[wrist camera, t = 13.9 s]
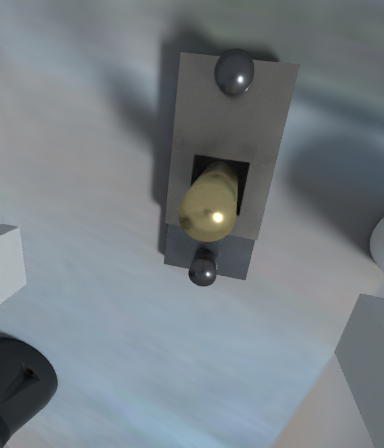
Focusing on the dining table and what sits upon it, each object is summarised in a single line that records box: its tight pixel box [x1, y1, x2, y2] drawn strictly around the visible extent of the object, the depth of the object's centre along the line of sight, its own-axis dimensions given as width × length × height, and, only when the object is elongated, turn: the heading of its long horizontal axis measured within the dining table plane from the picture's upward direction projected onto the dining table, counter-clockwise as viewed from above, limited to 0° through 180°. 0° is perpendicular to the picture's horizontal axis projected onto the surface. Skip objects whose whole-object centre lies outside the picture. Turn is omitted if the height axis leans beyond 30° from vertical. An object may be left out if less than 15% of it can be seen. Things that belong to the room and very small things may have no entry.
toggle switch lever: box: [178, 161, 238, 242], centre depth 23 cm, size 4×4×12 cm
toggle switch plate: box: [164, 49, 299, 286], centre depth 26 cm, size 22×10×6 cm, turn 173°
